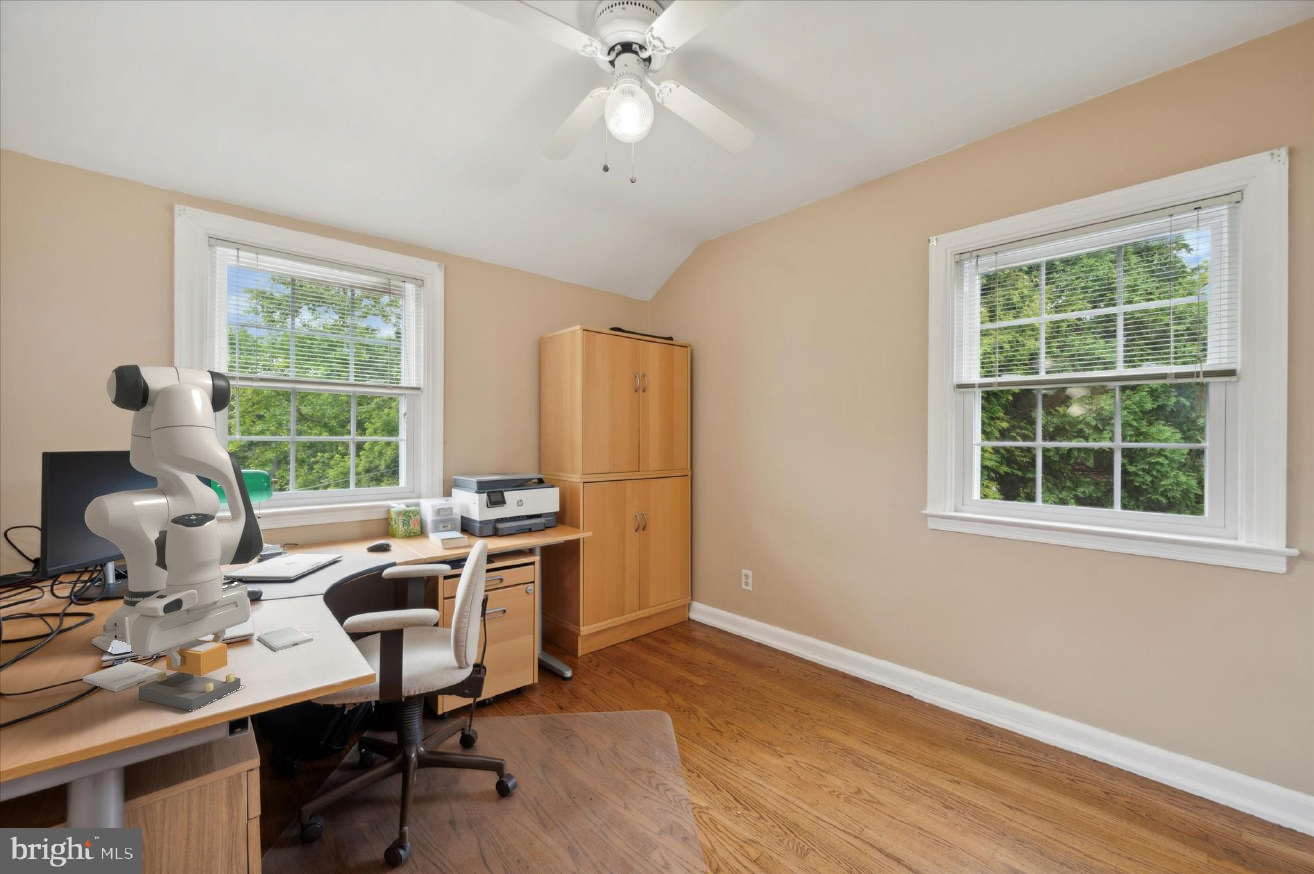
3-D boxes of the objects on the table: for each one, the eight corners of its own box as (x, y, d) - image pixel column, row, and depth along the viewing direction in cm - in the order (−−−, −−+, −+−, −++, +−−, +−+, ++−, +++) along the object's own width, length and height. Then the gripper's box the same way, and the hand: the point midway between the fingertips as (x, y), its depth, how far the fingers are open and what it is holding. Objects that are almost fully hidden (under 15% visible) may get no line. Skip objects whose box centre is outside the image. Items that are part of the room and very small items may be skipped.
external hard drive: (130, 667, 123) (164, 676, 119) (82, 684, 115) (116, 694, 111) (130, 660, 123) (163, 669, 118) (82, 676, 115) (116, 687, 111)
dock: (138, 698, 108) (138, 681, 108) (194, 676, 118) (193, 660, 118) (192, 711, 104) (192, 693, 104) (245, 687, 113) (245, 670, 113)
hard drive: (257, 635, 138) (276, 647, 130) (293, 625, 144) (313, 636, 137) (257, 641, 138) (276, 654, 130) (293, 631, 144) (313, 643, 137)
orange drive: (166, 669, 110) (165, 647, 110) (193, 659, 115) (193, 637, 115) (201, 676, 107) (200, 653, 107) (227, 665, 112) (226, 643, 112)
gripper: (236, 577, 121) (237, 638, 122) (124, 607, 102) (126, 679, 102) (256, 580, 120) (258, 641, 120) (146, 611, 100) (148, 684, 100)
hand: (196, 659), depth 111 cm, fingers closed on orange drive, 5 cm apart
